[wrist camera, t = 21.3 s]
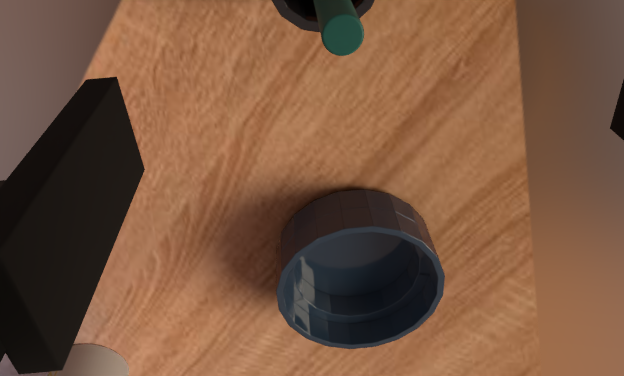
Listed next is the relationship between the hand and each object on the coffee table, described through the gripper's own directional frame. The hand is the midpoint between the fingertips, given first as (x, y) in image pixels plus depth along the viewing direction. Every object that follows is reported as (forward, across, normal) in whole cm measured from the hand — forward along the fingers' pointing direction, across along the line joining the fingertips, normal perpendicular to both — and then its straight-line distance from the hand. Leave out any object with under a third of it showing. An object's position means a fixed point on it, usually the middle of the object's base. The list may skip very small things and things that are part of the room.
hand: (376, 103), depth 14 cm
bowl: (+26, +2, -28) cm, 38 cm away
